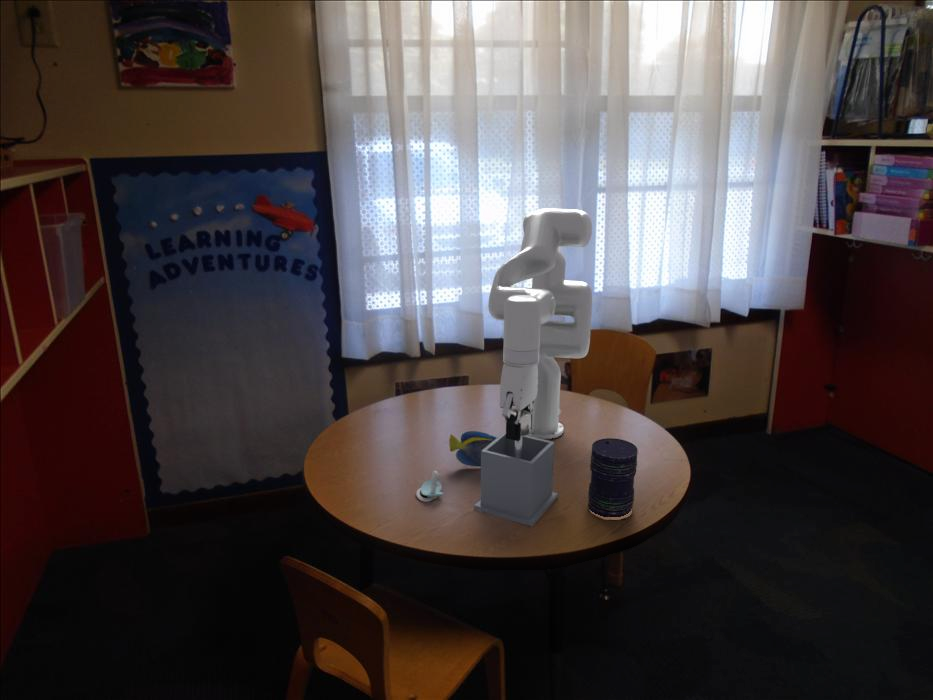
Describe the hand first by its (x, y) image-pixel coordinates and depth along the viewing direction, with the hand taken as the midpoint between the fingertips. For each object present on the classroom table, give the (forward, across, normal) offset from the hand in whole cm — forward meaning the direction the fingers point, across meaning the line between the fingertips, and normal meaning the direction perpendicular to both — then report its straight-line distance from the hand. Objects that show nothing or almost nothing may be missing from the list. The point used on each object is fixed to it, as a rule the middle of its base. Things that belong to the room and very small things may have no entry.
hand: (518, 433), depth 149 cm
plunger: (+11, 0, 0) cm, 11 cm away
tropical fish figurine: (+17, -11, -15) cm, 25 cm away
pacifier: (+17, +7, -19) cm, 27 cm away
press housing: (+17, 0, 0) cm, 17 cm away
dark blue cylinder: (+17, -8, +19) cm, 27 cm away
